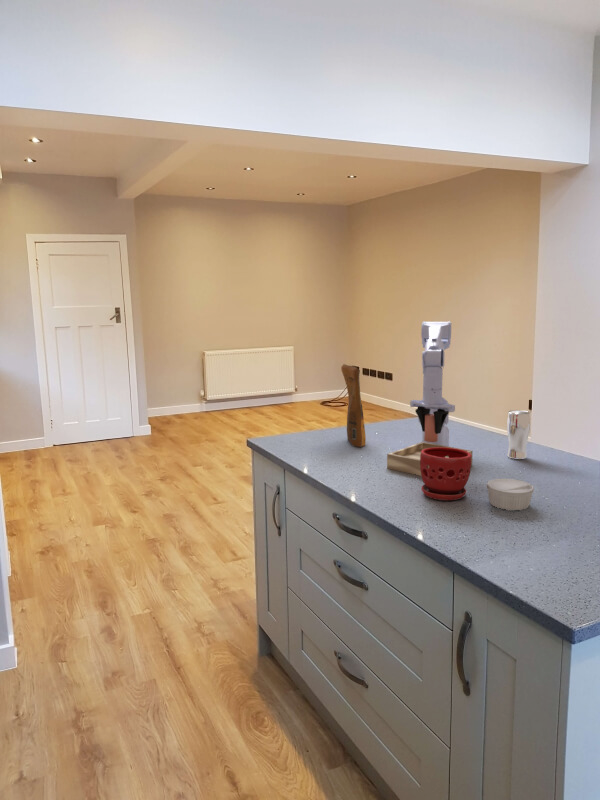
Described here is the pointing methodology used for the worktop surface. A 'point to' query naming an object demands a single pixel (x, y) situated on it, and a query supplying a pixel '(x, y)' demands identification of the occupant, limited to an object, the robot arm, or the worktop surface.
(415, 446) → the box
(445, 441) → the robot arm
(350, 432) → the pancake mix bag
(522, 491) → the ramekin
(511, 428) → the beer glass
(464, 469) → the plant pot
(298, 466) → the worktop surface
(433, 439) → the peg
